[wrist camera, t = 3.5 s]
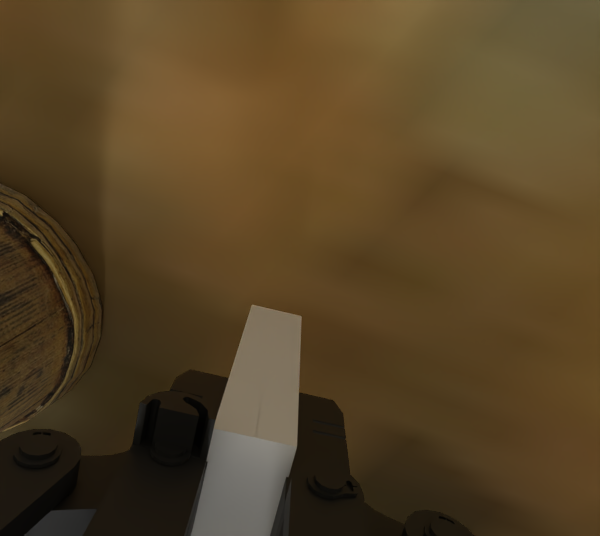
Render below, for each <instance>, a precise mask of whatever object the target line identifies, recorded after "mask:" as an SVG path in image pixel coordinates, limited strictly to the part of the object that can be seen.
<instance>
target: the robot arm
mask: <svg viewBox="0 0 600 536" xmlns="http://www.w3.org/2000/svg"><path fill="white" fill-rule="evenodd" d="M301 319H302V316H299V315H295V314H291V313H286V312H282V311H278V310H274V309H269V308H265V307H261V306H256V305H252V306H251V309H250V312H249V315H248V318H247V322H246V325H245V328H244V331H243V334H242V337H241V341H240V344H239V347H238V350H237V353H236V357H235V360H234V363H233V366H232V369H231V372H230V376H229V378H226V377H221V376H217V375H212V374H208V373H204V372H199V371H195V370H188V371H187V372H185V373H183V374H182V375H180V376H178V377H176V379H175V381H174V383H173V385H172V387H171V389H170V391H167V392H158V393H155V394H152V395H150V396H147V397H146V398H145V399H144V400H143V401H142V402H141V403H140V406H139V411H138V417H137V422H136V428H135V433H134V439H133V444H132V446H131V448H130V450H128V451H126V452H123V453H119V454H114V455H105V456H81V447H80V445H79V444H78V442H77V441H76V439H74V438H72V437H71V436H69V435H67V434H66V433H63V432H59V431H55V430H51V429H33V430H28V431H23V432H18V433H16V434H13V435H11V436H9V437H7V438H5V439H3V440H1V441H0V536H474V535H473V534H472V533H471V532H470V531H469V529H468V528H466V527H465V526H464V525H462V524H461V523H459V522H458V521H457V520H455V519H453V518H451V517H449V516H447V515H445V514H442V513H440V512H435V511H429V510H422V511H415V512H414V513H412V514H411V515H410V516H408V517H407V520H406V523H405V525H404V524H402V523H400V522H398V521H395V520H393V519H391V518H389V517H387V516H385V515H383V514H381V513H379V512H377V511H375V510H374V509H372V508H371V507H370V506H368V505H367V504H366V503H365V502H364V496H363V492H362V490H361V487H360V485H359V484H358V482H357V481H356V480H355V479H354V478H353V477H352V476H351V475H350V469H349V460H348V452H347V444H346V440H345V438H346V435H345V429H344V419H343V413H342V412H341V410H340V409H339V407H338V406H337V405H336V403H335V402H334V401H333V400H330V399H325V398H321V397H316V396H312V395H308V394H303V393H299V376H300V347H301Z"/></svg>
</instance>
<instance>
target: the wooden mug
mask: <svg viewBox="0 0 600 536" xmlns="http://www.w3.org/2000/svg"><path fill="white" fill-rule="evenodd" d="M101 321H102V304H101V300H100V296H99V293H98V289H97V286H96V282H95V279H94V275H93V274H92V272H91V270H90V268H89V267H88V265H87V263H86V261H85V259H84V258H83V256H82V254H81V252H80V251H79V249H78V247H77V245H76V244H75V243H74V241H73V240H72V239H71V238H70V237H69V236H68V234H67V233H66V232H65V231H64V230H63V229H62V228H61V226H60V225H59V224H58V223H57V222H56V221H55V220H54V219H53V218H52V217H50V216H49V215H48V214H47V213H46V212H45V211H43V210H42V209H41V208H40V207H39V206H38V205H36V204H35V203H34V202H33V201H32V200H31V199H29V198H28V197H27V196H26V195H24V194H21V193H19V192H17V191H15V190H13V189H11V188H9V187H7V186H4V185H2V184H0V433H1V432H3V431H6V430H8V429H11V428H13V427H16V426H18V425H20V424H23V423H25V422H27V421H29V420H30V419H31V418H33V417H34V416H36V415H37V414H38V413H40V412H41V411H43V410H44V409H46V408H47V407H48V406H50V405H51V404H52V403H54V402H55V401H57V400H58V399H59V398H61V397H62V396H63V395H65V394H66V393H67V392H69V391H70V390H71V389H73V387H74V386H75V385H76V384H77V382H78V381H79V380H80V378H81V377H82V376H83V375H84V373H85V372H86V371H87V370H88V368H89V367H90V366H91V363H92V360H93V357H94V354H95V351H96V348H97V346H98V343H99V340H100V337H101Z"/></svg>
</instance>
